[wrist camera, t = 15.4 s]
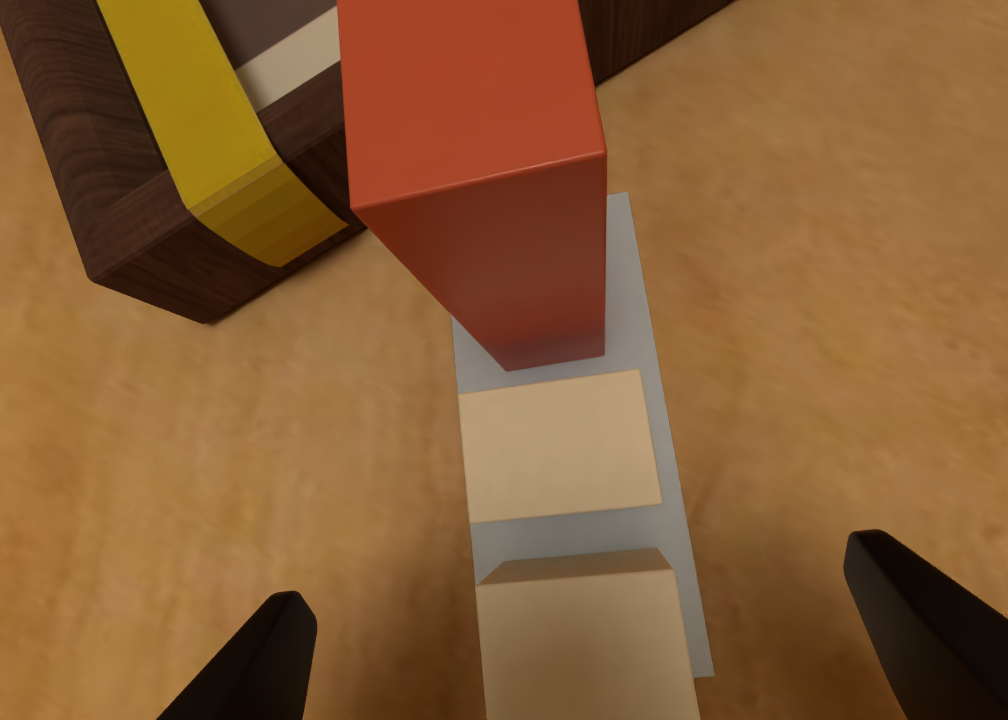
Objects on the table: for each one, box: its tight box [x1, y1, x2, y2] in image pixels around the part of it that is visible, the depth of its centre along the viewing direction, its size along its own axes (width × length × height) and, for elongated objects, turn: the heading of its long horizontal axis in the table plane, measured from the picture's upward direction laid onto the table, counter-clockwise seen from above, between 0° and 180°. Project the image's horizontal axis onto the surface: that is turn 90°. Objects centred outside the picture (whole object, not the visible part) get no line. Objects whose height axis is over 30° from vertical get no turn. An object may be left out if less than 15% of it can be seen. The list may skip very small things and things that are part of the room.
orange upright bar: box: [337, 0, 607, 372], centre depth 13 cm, size 5×4×12 cm
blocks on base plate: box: [451, 191, 715, 720], centre depth 16 cm, size 16×7×4 cm, turn 6°
